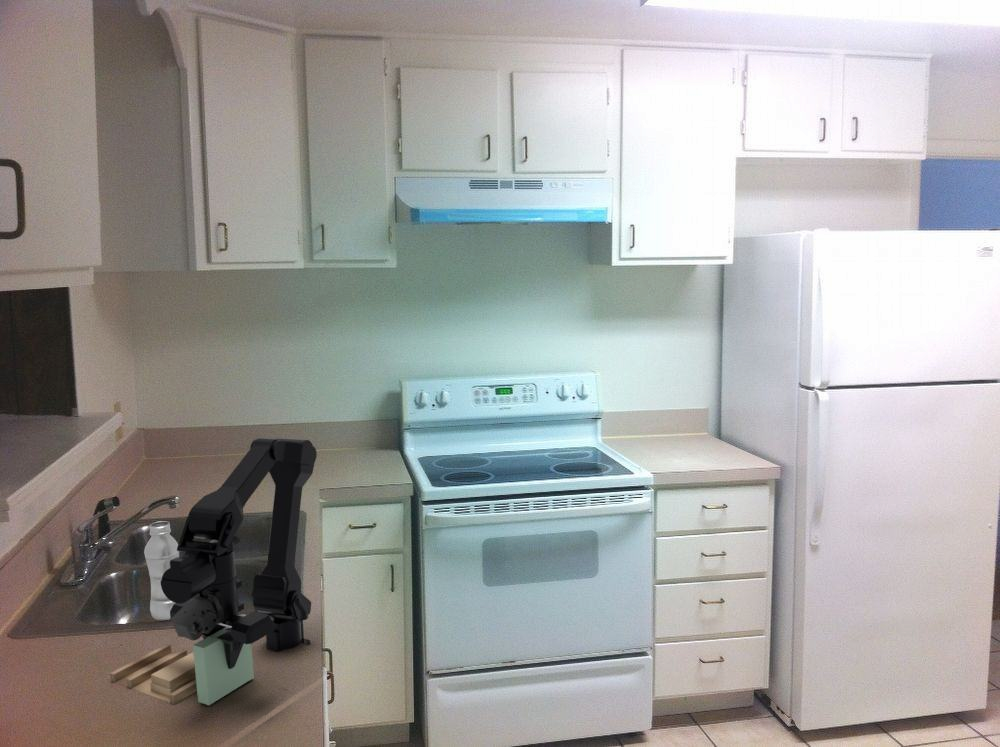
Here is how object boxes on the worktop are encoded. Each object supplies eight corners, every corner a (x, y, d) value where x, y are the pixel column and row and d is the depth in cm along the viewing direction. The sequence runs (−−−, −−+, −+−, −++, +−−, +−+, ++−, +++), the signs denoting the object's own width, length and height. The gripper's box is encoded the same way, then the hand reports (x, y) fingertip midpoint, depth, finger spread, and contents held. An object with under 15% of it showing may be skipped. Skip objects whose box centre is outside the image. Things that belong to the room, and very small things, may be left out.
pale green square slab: (243, 674, 156) (239, 620, 155) (254, 677, 155) (249, 623, 153) (198, 701, 148) (192, 644, 146) (208, 705, 147) (203, 648, 145)
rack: (168, 656, 166) (167, 643, 166) (230, 676, 158) (229, 663, 158) (111, 686, 156) (110, 673, 156) (174, 709, 148) (173, 695, 148)
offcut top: (193, 659, 160) (193, 651, 159) (212, 665, 157) (211, 657, 157) (151, 682, 152) (150, 674, 152) (170, 689, 150) (169, 681, 150)
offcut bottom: (197, 665, 161) (196, 657, 161) (217, 671, 158) (216, 663, 158) (150, 691, 152) (150, 682, 152) (171, 698, 150) (170, 690, 150)
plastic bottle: (185, 623, 180) (176, 527, 176) (149, 627, 178) (139, 531, 175) (187, 609, 186) (179, 517, 183) (153, 614, 184) (143, 520, 181)
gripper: (138, 585, 146) (147, 674, 149) (220, 608, 137) (228, 703, 139) (193, 561, 155) (200, 646, 158) (273, 581, 146) (280, 670, 149)
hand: (225, 666), depth 151 cm, fingers closed on pale green square slab, 2 cm apart
